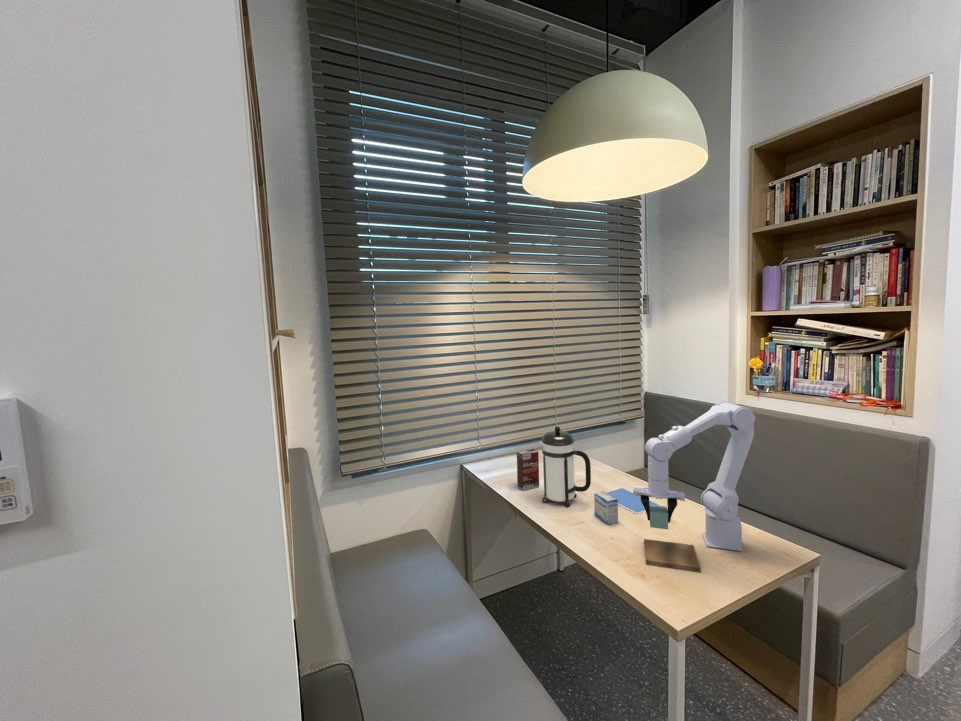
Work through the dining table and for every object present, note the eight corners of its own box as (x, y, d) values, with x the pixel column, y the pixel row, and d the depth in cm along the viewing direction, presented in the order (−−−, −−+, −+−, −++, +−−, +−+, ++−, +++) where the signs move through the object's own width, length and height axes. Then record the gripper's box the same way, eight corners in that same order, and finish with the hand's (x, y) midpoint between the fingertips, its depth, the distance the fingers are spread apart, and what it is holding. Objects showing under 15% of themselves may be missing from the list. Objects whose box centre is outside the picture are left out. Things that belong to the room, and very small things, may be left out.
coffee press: (550, 511, 151) (547, 433, 148) (535, 494, 167) (533, 423, 164) (592, 505, 155) (590, 429, 152) (574, 489, 170) (572, 420, 168)
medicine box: (594, 515, 147) (593, 492, 146) (604, 513, 148) (603, 490, 147) (608, 525, 139) (607, 501, 138) (618, 522, 141) (618, 498, 140)
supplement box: (522, 491, 170) (521, 455, 169) (517, 487, 175) (515, 452, 174) (540, 487, 174) (538, 451, 173) (534, 483, 178) (533, 448, 177)
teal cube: (666, 521, 126) (666, 506, 126) (668, 529, 121) (668, 513, 121) (649, 519, 128) (649, 504, 127) (650, 527, 123) (650, 511, 123)
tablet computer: (661, 508, 151) (661, 504, 151) (637, 516, 145) (637, 513, 145) (622, 490, 168) (622, 487, 168) (599, 497, 163) (599, 494, 163)
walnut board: (693, 548, 123) (693, 545, 123) (700, 572, 111) (700, 567, 111) (643, 542, 127) (643, 538, 127) (645, 564, 116) (645, 560, 116)
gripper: (633, 480, 122) (633, 523, 123) (686, 484, 117) (686, 529, 118) (632, 472, 129) (633, 512, 130) (683, 476, 124) (683, 518, 125)
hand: (658, 520), depth 124 cm, fingers closed on teal cube, 5 cm apart
